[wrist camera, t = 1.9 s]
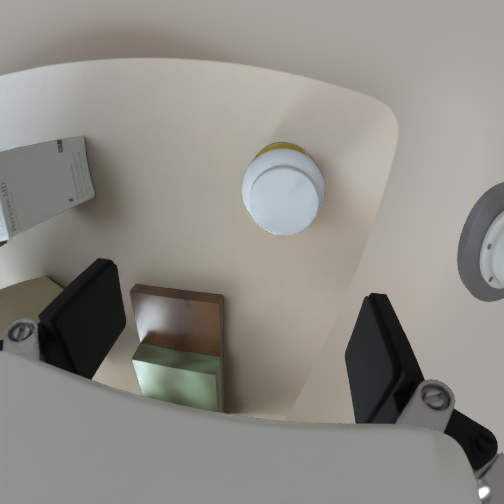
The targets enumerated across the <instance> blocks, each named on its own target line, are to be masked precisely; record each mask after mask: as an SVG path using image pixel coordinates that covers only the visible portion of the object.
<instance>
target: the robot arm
mask: <svg viewBox="0 0 504 504" xmlns="http://www.w3.org/2000/svg"><path fill="white" fill-rule="evenodd" d="M479 262H480V271H481V274H482V276H483V278H484V280H485V281H486V282H487V283H488V284H489V285H490V286H491V287H493V288H497V289H502V288H504V211H502V212H501V213H500V214H499V215H498V216H497V217H496V218H495V220H494V221H493V222H492V224H491V225H490V227H489V229H488V231H487V233H486V235H485V237H484V240H483V243H482V247H481V251H480V260H479ZM38 317H39V320H40V322H39V323H38V324H37V323H36V322H35V321H34V320H32V319H29V318H23V319H19V320H16V321H14V322H13V323H11V324H10V325H9V326H8V327H7V329H6V330H5V334H4V339H3V340H0V504H504V454H503V453H500V454H498V453H497V449H498V445H497V440H496V438H495V436H494V435H493V434H492V432H491V431H489V430H488V429H486V428H485V427H483V426H481V425H480V424H478V423H477V422H475V421H473V420H472V419H470V418H469V417H467V416H465V415H463V414H462V413H460V412H459V411H457V410H456V409H454V405H455V398H454V394H453V392H452V390H451V389H450V388H449V387H448V386H447V385H445V384H444V383H443V382H440V381H438V380H432V379H430V380H425V379H424V377H423V374H422V372H421V369H420V367H419V365H418V362H417V360H416V357H415V355H414V353H413V350H412V348H411V345H410V343H409V341H408V339H407V337H406V334H405V332H404V331H403V329H402V326H401V324H400V322H399V320H398V318H397V316H396V313H395V311H394V309H393V307H392V305H391V303H390V301H389V299H388V297H387V295H386V294H378V293H371V294H370V295H369V297H368V296H366V297H365V298H364V300H363V303H362V307H361V309H360V312H359V315H358V318H357V321H356V324H355V327H354V330H353V333H352V336H351V338H350V341H349V343H348V346H347V349H346V352H345V362H346V367H347V373H348V378H349V384H350V390H351V396H352V402H353V408H354V415H355V422H356V424H341V423H312V422H295V421H282V420H272V419H262V418H254V417H246V416H239V415H232V414H225V413H219V412H213V411H208V410H202V409H197V408H192V407H187V406H182V405H178V404H173V403H169V402H165V401H161V400H157V399H153V398H149V397H145V396H141V395H138V394H134V393H131V392H127V391H124V390H120V389H117V388H114V387H111V386H108V385H105V384H102V383H99V382H96V381H93V380H91V379H92V378H93V376H94V374H95V373H96V371H97V370H98V368H99V366H100V365H101V363H102V362H103V360H104V359H105V357H106V355H107V354H108V352H109V351H110V349H111V348H112V346H113V345H114V343H115V342H116V340H117V338H118V337H119V335H120V334H121V332H122V331H123V329H124V328H125V325H126V316H125V311H124V305H123V300H122V294H121V288H120V282H119V275H118V269H117V266H116V265H115V264H114V262H113V261H112V260H109V259H103V258H98V259H97V260H96V261H94V262H93V263H92V264H91V265H90V266H89V267H88V268H87V269H86V270H84V271H83V272H82V273H81V274H80V275H79V276H78V277H77V278H76V279H75V280H74V281H73V282H72V283H70V284H69V285H68V286H67V287H66V288H65V289H64V290H63V291H62V292H61V293H60V294H59V295H58V296H57V297H56V298H55V299H54V300H53V301H52V302H51V303H50V304H49V305H48V306H47V307H46V308H45V309H44V310H43V311H42V312H41V313H40V314H39V315H38Z"/></svg>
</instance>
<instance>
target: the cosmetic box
mask: <svg viewBox="0 0 504 504" xmlns="http://www.w3.org/2000/svg"><path fill="white" fill-rule="evenodd" d="M94 196H95V192H94V188H93V186H92V181H91V177H90V173H89V168H88V162H87V156H86V150H85V140H84V137H83V136H78V137H72V138H65V139H59V140H54V141H48V142H43V143H38V144H33V145H28V146H22V147H18V148H14V149H10V150H6V151H2V152H0V242H2V241H5V240H8V239H11V238H13V237H15V236H17V235H19V234H20V233H22V232H24V231H26V230H28V229H30V228H32V227H34V226H36V225H37V224H39V223H41V222H43V221H45V220H47V219H49V218H51V217H53V216H55V215H57V214H59V213H61V212H63V211H66V210H68V209H70V208H72V207H74V206H76V205H78V204H81V203H83V202H85V201H87V200H89V199H92V198H93V197H94Z"/></svg>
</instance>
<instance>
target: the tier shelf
mask: <svg viewBox="0 0 504 504" xmlns="http://www.w3.org/2000/svg"><path fill="white" fill-rule="evenodd" d="M130 296H131V301H132V306H133V311H134V316H135V321H136V325H137V330H138V334H139V339H140V345H139V347H138V348H137V350H136V352H135V354H134V356H133V357H132V362H133V365H134V369H135V372H136V375H137V378H138V381H139V384H140V387H141V390H142V393H143V396H145V397H149V398H153V399H157V400H161V401H165V402H169V403H173V404H178V405H182V406H187V407H192V408H197V409H202V410H208V411H213V412H219V413H224V379H223V295H218V294H210V293H201V292H193V291H185V290H177V289H169V288H162V287H155V286H147V285H140V284H135V286H134V287H133V288H132V289H131V291H130Z"/></svg>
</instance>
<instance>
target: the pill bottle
mask: <svg viewBox="0 0 504 504" xmlns="http://www.w3.org/2000/svg"><path fill="white" fill-rule="evenodd" d="M242 197H243V201H244V204H245V206H246V208H247V210H248V212H249V213H250V214H251V216H252V217H253V219H254V220H255V222H256V223H257V224H258V225H259V226H260V227H261V228H263V229H264V230H266V231H267V232H270V233H272V234H276V235H283V236H285V235H293V234H296V233H299V232H301V231H303V230H304V229H306V228H307V227H308V226H309V225H310V224H311V223H312V222H313V220H314V219H315V217H316V215H317V213H318V212H319V210H320V209H321V207H322V204H323V201H324V197H325V183H324V179H323V176H322V174H321V172H320V170H319V168H318V167H317V165H316V164H315V163H314V162H313V160H312V159H311V158H310V156H309V155H308V154H307V153H306V152H305V151H304V150H303V149H302V148H300V147H299V146H297V145H294V144H291V143H287V142H278V143H273V144H270V145H268V146H266V147H265V148H263V149H262V150H261V151H260V152H259V153H258V154H257V155H256V157H255V158H254V160H253V161H252V162H251V164H250V165H249V167H248V168H247V170H246V172H245V174H244V177H243V181H242Z"/></svg>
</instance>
